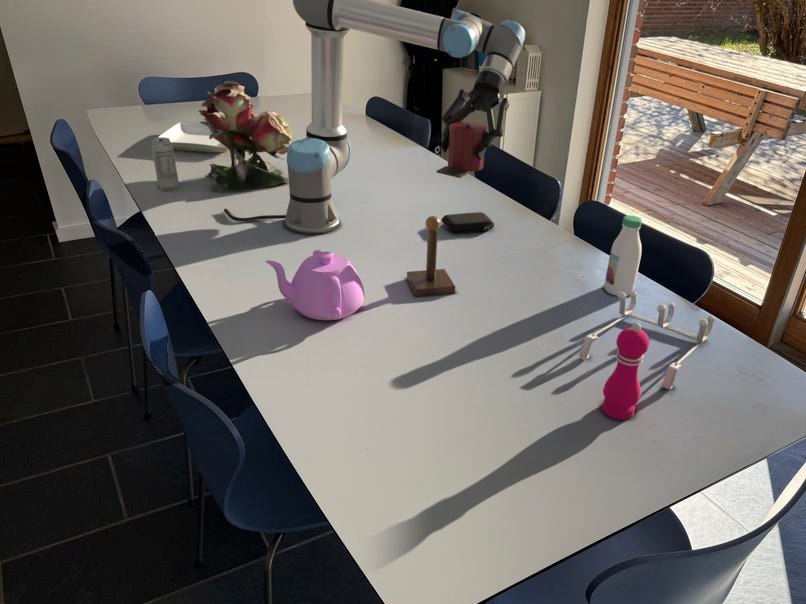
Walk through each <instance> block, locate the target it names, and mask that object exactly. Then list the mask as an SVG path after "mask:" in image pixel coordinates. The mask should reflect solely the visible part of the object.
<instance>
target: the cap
mask: <svg viewBox="0 0 806 604" xmlns="http://www.w3.org/2000/svg"><path fill="white" fill-rule="evenodd" d="M485 132H487V126H485V125H483V124H480V123H477V122H469V121H461V122H456V123H452V124H450V125H449V147H448V149H447V165H445V166H443V167H442V168H439V169H437V170H435V171H436V172H435V173H437V174H441V175H445V176H450V177H453V178H457V179H461V178H463V177H464V176H466V175H468V174H470V173H472V172H479V171H481V170H483V169H484V165H485V164H484V163H485V154H484V155H483V158H482V160H479V159H478V157H477V155H476V153H477V150H478V148H479V146H480V143H481V141H482V138H483V136H484V134H485Z"/></svg>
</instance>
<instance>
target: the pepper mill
mask: <svg viewBox="0 0 806 604" xmlns="http://www.w3.org/2000/svg"><path fill="white" fill-rule="evenodd" d="M615 343H616V347H617V350H616V354H615V356H616V357H615V358H616V360H617V362H616V366H615V369H614V370H613V372H612V373H611V374H610V376H609V377H608V378H607V380H606V381H605V384H604V386H603V389H602V394H603V397H604V399H603V401H602V411H603V413H604V414H605V415H606V416H608V417H610V418H611V419H614V420H628V419H631V418H632V417H633V416H634V415H635V414H634V413H635V409H636V404H638V403H639V401H640V399H641V394H642V391H641V390H642V389H641V385H640V382H639V377H638V372H639V366H640V365H641V364H643V361H644V354H646V353H647V352H648V349H649V347H650V339H649V336H648V334H647V332H645V331H644V330H643V329H642V325H641V324H640V323H639V322H634V323H632V325H631V327H627V328H625V329H622V330H621V331H620V332H619V333H618V335H617V337H616V342H615Z"/></svg>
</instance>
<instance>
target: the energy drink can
mask: <svg viewBox="0 0 806 604" xmlns="http://www.w3.org/2000/svg"><path fill="white" fill-rule="evenodd" d="M157 137H158V138H157ZM157 137H154V138H152V143H151V144H150V145H151V152H152V157H153V162H154V163H153V164H154V170H155V175H156V180H157V186H158V187H160V189H161V190H163V191H173V190H176V189H177V188H178V186H179V184H180V183H179V176H178V171H177V165H176V158H175V152H174V149H173V145H172V143H171V142H170V139H169V138H165V137H159V136H157Z"/></svg>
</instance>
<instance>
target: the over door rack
mask: <svg viewBox="0 0 806 604" xmlns="http://www.w3.org/2000/svg"><path fill="white" fill-rule="evenodd" d="M629 296H630V302H629V305H628V307H627V308H626V298H627V296H626V294H625V293H624V292H619V293H618V295H617V296H616V297H617V299H618V300H619V315H622V316H621V317H619V318H618V319H616V320H614V321H613V322H610V323H609V324H608V325H606V326H604V327H603V328H601V329H599V330H598V331H596V332H594V333H590V334H588V335H585V336H584V338H583V342H582V344H581V347H580V351H579V354H578V356H579V357H580V358H583V359H586V360H587V359H589V358H590V354H589V352H590V349H591V346H592V344H593V340H597V339H598V338H599V336H597V335H599V334H601V333H603V332H604V331H606V330H607V329H609V328H611V327H612V326H614V325H615V324H617V323H619V322H620V321H622V320H624V319H625V318H627V317H629V318H633V319H635V320H638V321H641V322H645V323H647V324H651V325H654V326H657V327H659V328H662V329H666V330H669V331H671V332H674V333H676V334H679V335H682V336H685V337H687V338H690V339H693V340H695V341H697V343H696V344H695V345H694V346H693V347H692V348H690V350H688V351H687V352H686V353H685V354H684V355H683V356H682V357H681V358H680V359H678V360H677V361H676V362H671V364H669V366H668V367H667V370H666V373H665V376H664V379H663V382H662V385H661V387H662V388H664V389H667V390H669V391H671V390H672V389H673V384H674V381H675V378H676V375H677V372H678V370H679V368H682V365H681V363H682V362H683V361H684V360H685V359H686V358H687V357H688V356H689V355H691V353H693V352H694V351H695V350H696V349H697V348H698V347H699V346H700V345H702V343H705V342H706V341H707V339H708V337H709V335H710V334H711V331H712V329H713V325H714V322H715V320H716V318H715V316H714V315H709V316H707V319H706V318H701V319H699V321H698V326H699V328H698V329H699V330H698V333H697V335H696V334H694V333H691V332H688V331H685V330H682V329H680V328H677V327H674V326H670V323H671V322H672V320H673V318H674V314H675V308H676V305H675V303H674V302H669V303H668V305H667V307H666V305H664V304H661V303H660V304H658V306H657V307H656V310H657V312H658V317H657V320H654V319H651V318H648V317H645V316H641V315H639V314H636V313H633V310H634V309H635V307H636V304H637V296H638V294H637V292H636V291H635V290H634V291H632V292H631V293H630V295H629ZM667 309H668V310H667ZM666 311H667V315H666ZM665 315H666V317H665Z"/></svg>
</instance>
